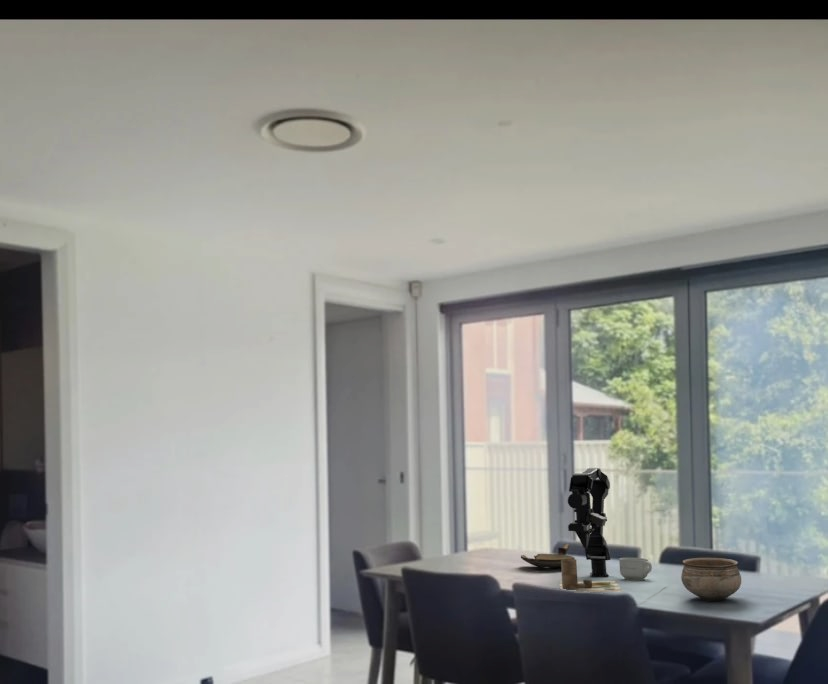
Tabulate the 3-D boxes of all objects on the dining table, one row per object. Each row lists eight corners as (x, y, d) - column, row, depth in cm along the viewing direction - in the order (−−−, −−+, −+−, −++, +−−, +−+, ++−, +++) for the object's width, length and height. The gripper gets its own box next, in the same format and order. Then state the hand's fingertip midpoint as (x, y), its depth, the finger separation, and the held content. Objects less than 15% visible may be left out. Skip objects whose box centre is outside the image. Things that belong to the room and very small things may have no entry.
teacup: (614, 579, 312) (613, 557, 313) (638, 576, 316) (636, 555, 317) (636, 584, 299) (635, 562, 300) (660, 581, 303) (659, 559, 304)
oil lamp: (509, 567, 347) (508, 549, 348) (562, 560, 363) (561, 542, 364) (542, 574, 328) (541, 555, 329) (597, 566, 344) (596, 547, 344)
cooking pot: (711, 590, 283) (709, 554, 285) (760, 598, 268) (757, 560, 269) (664, 600, 270) (662, 563, 271) (713, 609, 254) (710, 569, 255)
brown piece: (608, 584, 294) (606, 556, 296) (611, 586, 292) (609, 557, 293) (561, 588, 291) (559, 559, 292) (564, 589, 288) (562, 561, 289)
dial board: (558, 584, 304) (558, 581, 304) (615, 583, 302) (615, 580, 302) (561, 595, 284) (561, 591, 284) (622, 594, 282) (622, 590, 282)
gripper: (595, 508, 297) (597, 552, 295) (611, 504, 313) (614, 545, 311) (566, 508, 303) (568, 550, 301) (583, 504, 319) (586, 544, 317)
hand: (585, 547), depth 307 cm, fingers closed
